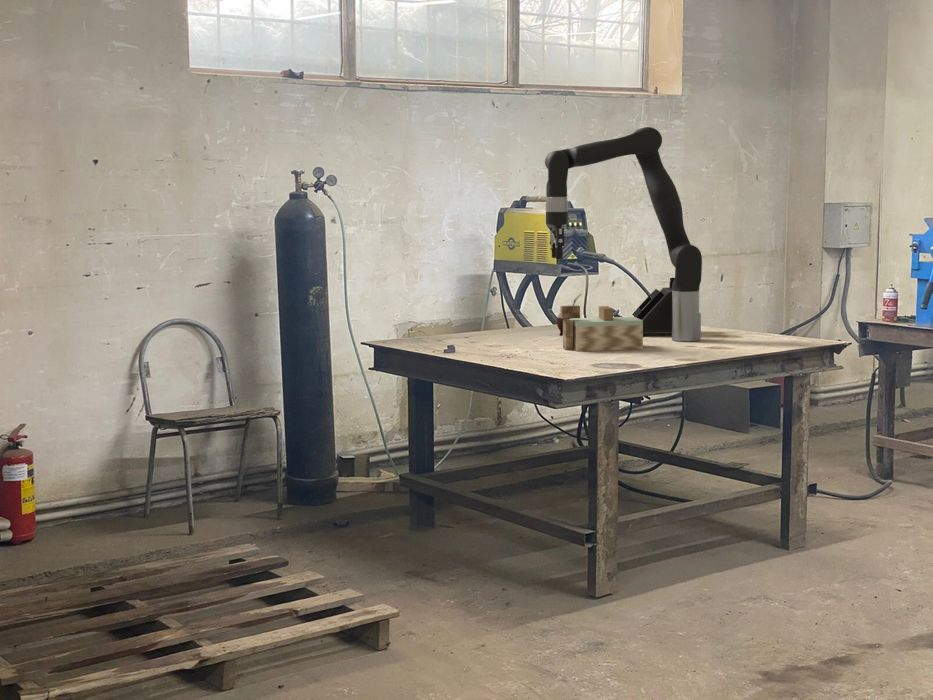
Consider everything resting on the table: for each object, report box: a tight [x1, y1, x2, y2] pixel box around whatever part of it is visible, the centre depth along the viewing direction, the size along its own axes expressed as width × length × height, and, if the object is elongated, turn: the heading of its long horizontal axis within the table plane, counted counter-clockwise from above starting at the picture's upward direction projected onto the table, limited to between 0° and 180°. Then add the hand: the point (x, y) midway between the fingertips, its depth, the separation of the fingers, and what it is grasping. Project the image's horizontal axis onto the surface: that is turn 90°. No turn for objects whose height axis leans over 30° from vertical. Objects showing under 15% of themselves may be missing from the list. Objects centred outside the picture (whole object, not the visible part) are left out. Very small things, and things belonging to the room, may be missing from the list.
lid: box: [570, 305, 643, 327], centre depth 376 cm, size 22×12×6 cm, turn 95°
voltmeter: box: [632, 277, 675, 337], centre depth 411 cm, size 16×16×20 cm
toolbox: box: [562, 320, 644, 352], centre depth 377 cm, size 25×12×10 cm, turn 95°
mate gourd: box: [556, 293, 582, 337], centre depth 413 cm, size 8×8×15 cm
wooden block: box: [559, 304, 581, 319], centre depth 375 cm, size 6×3×4 cm, turn 95°
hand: (557, 258), depth 385 cm, fingers open, 8 cm apart
